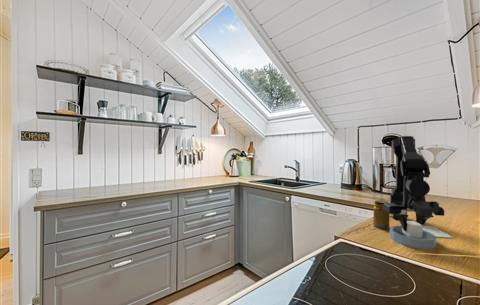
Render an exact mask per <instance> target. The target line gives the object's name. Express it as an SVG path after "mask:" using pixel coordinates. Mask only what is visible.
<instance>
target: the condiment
mask: <svg viewBox="0 0 480 305" xmlns="http://www.w3.org/2000/svg"><path fill="white" fill-rule="evenodd" d="M384 203H389V201H386V200H374V206H373V218H372V220H373V221H372V224H373V226H371V227H370V229H371V230H377V229H379V230H390V217H389V216H390V214H389V213H388V212H386V211H384V210H383V205H384Z"/></svg>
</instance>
